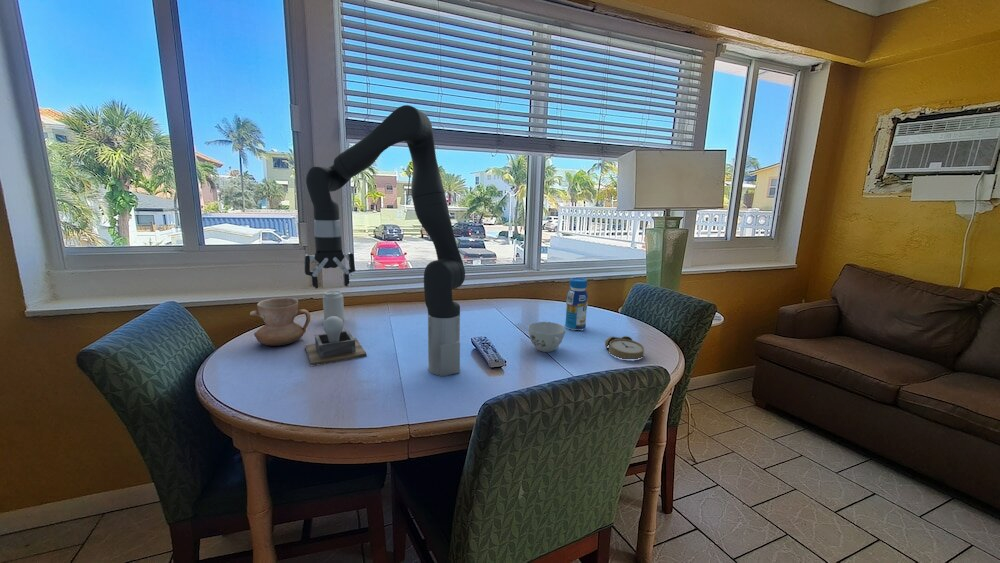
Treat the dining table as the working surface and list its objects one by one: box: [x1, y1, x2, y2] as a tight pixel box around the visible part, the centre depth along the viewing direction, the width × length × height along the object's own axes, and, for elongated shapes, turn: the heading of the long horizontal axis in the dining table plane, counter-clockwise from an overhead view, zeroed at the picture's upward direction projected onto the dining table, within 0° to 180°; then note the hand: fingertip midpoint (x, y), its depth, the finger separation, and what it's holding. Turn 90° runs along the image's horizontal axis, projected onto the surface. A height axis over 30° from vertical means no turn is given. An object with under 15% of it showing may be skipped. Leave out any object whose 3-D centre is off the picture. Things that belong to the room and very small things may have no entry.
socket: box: [305, 330, 367, 366], centre depth 129 cm, size 16×16×5 cm
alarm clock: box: [604, 335, 646, 359], centre depth 136 cm, size 11×5×15 cm
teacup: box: [527, 321, 566, 353], centre depth 136 cm, size 15×12×8 cm
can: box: [322, 290, 345, 321], centre depth 160 cm, size 8×8×12 cm
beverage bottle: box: [564, 277, 589, 331], centre depth 159 cm, size 8×8×20 cm
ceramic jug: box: [249, 297, 311, 347], centre depth 136 cm, size 18×14×14 cm
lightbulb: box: [322, 316, 345, 343], centre depth 128 cm, size 6×6×11 cm
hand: (331, 286), depth 125 cm, fingers open, 8 cm apart
